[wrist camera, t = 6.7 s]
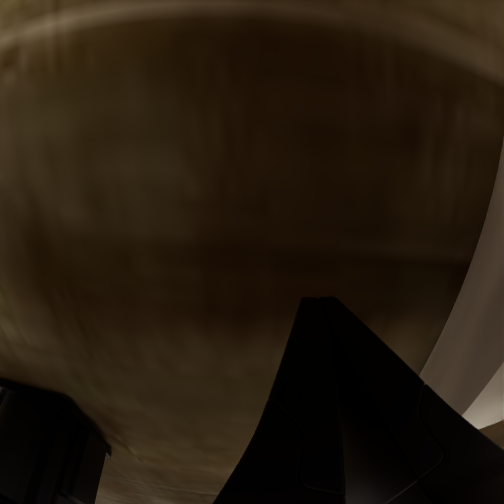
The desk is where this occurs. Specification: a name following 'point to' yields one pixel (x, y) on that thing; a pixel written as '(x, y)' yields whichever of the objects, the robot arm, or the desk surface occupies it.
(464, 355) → the beige rectangular block
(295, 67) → the desk surface
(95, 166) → the desk surface
